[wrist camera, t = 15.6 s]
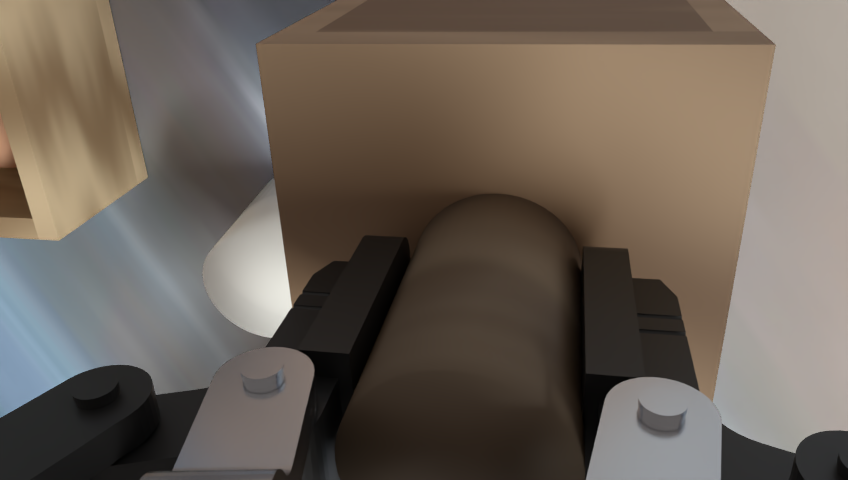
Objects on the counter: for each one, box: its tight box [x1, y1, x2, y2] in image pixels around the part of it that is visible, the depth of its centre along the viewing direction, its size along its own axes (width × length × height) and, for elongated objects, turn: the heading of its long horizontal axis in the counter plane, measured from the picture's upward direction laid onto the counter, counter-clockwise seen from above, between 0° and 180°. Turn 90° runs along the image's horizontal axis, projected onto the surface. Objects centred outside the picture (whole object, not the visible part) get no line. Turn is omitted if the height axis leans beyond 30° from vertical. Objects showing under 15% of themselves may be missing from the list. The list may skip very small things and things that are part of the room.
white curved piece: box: [203, 178, 292, 338], centre depth 28 cm, size 4×4×5 cm
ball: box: [0, 114, 17, 168], centre depth 28 cm, size 3×3×3 cm
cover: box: [256, 0, 776, 480], centre depth 15 cm, size 8×8×16 cm
